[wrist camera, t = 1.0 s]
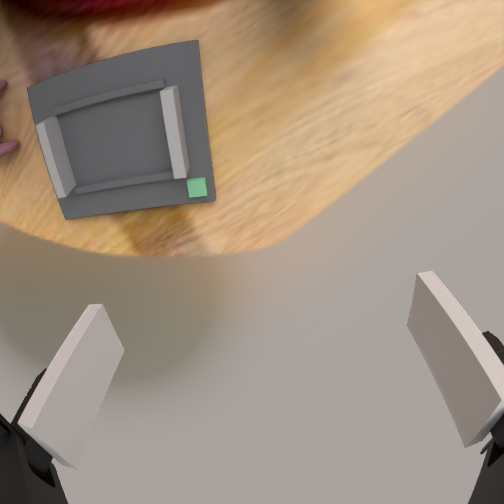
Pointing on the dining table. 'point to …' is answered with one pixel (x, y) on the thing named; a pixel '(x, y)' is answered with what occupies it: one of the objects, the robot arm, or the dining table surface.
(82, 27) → the dining table surface
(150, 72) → the charging cradle
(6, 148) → the video game controller
